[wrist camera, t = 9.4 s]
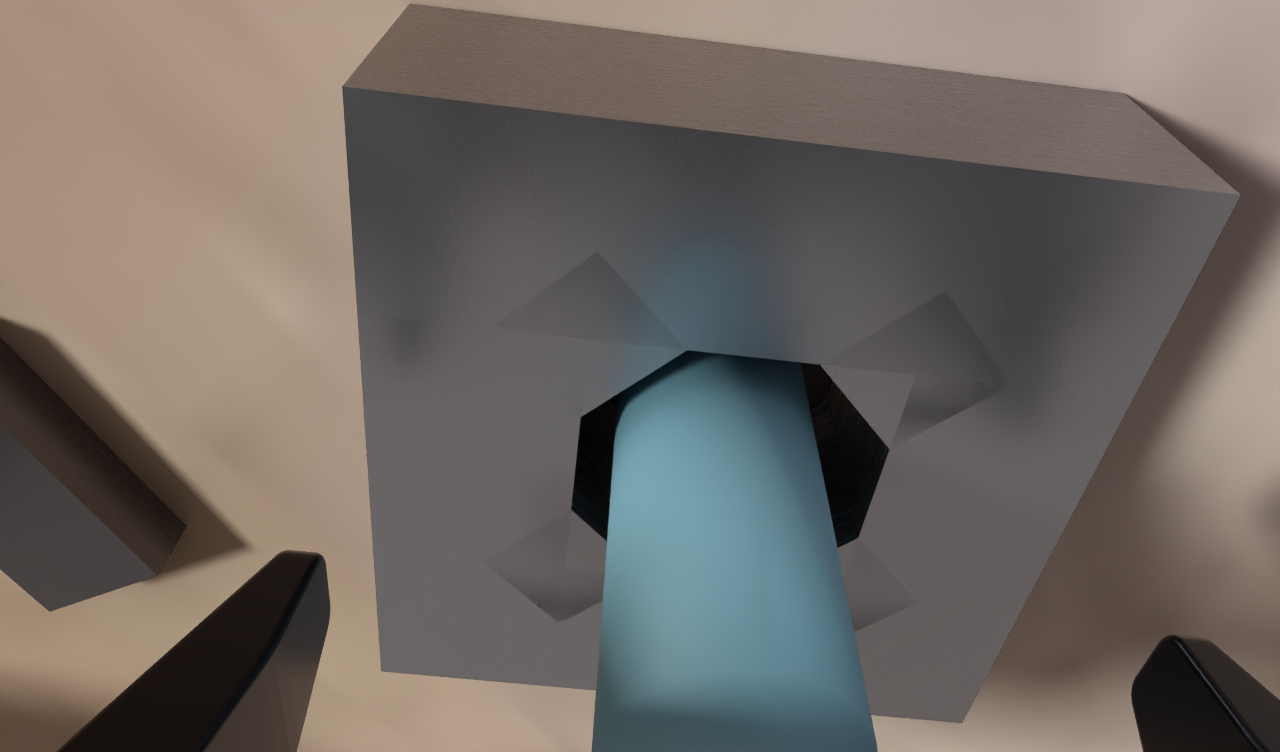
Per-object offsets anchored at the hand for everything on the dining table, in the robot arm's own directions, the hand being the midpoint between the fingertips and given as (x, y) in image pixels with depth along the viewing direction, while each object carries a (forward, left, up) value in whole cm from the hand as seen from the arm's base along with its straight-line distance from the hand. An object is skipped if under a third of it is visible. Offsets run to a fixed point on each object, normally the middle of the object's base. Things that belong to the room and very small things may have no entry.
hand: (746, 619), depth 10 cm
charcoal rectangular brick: (-4, +11, -6) cm, 13 cm away
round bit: (0, 0, -5) cm, 5 cm away
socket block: (0, 0, -5) cm, 5 cm away
